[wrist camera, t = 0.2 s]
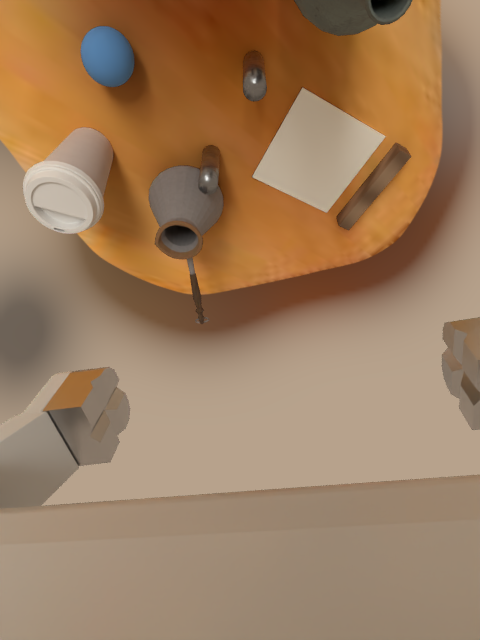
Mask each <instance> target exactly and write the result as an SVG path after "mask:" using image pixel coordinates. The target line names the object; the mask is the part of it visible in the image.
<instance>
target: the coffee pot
mask: <svg viewBox="0 0 480 640" xmlns="http://www.w3.org/2000/svg"><path fill="white" fill-rule="evenodd" d="M199 174H200V169H198V168H196V167H192V166H175V167H172V168H168V169H166V170H165V171H163V172H161V173H160V174H159V175H158V176H157V177H156V178H155V179H154V180H153V182H152V184H151V187H150V189H149V202H150V207H151V209H152V212H153V214H154V216H155V218H156V220H157V222H158V224H159V226H160V228H159V230H158V232H157V234H156V238H155V245H156V246H157V247H158V248H159V249H160V250H161V251H162V252H163V253H165V254H166V255H168V256H170V257H172V258H175V259H187V262H188V266H189V271H190V279H191V286H192V293H193V299H194V301H195V304H196V307H197V309H196V312H197V313H198V315H199V316H198V319H196V320H199V321H200V322H197V321H196V322H197V323H201V324H203V323H204V322H207V321H209V318H206V317H204V316H203V315H202V312H203V308H201V294H200V290H199V286H198V282H197V278H196V274H195V270H194V264H193V258H192V257H194V256H195V255H197V254H198V253H199V252H200V250H201V248H202V245H203V238H202V235H203V234H204V233H206V232H207V231H208V230H209V229H210V228H211V227H212V226H213V225H214V224H215V223H216V222H217V221H218V219H219V217H220V216H221V213H222V210H223V196H222V193H221V190H220V187H219V186H218V188H217V190H216V192H215V193H213V194H210V195H207V194H204V193H202V192H201V191H200V190H199V188H198V181H199ZM204 318H206V319H208V320H207V321H204Z"/></svg>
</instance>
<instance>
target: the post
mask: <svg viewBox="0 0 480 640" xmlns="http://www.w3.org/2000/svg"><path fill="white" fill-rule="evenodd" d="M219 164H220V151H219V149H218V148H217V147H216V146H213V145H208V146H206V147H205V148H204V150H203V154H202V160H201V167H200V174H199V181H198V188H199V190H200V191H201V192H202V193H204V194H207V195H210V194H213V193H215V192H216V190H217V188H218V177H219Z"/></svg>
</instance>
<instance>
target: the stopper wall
mask: <svg viewBox="0 0 480 640" xmlns="http://www.w3.org/2000/svg"><path fill="white" fill-rule="evenodd" d="M410 158H411V155H410V154H409V152H408V150H407V149H406V148H405V147H403V146H401V145H400V144H398V143H395V144H394V146H393V147H392V148H391V149H390V151H389V152H388V153H387V154H386V156H385V157H384V158H383V159H382V161H381V162H380V163H379V164H378V166H377V167H376V168H375V169H374V171H373V172H372V173H371V174H370V176H369V177H368V178H367V179H366V181H365V182H364V183H363V184H362V186H361V187H360V188H359V189H358V191H357V192H356V193H355V194H354V196H353V197H352V198H351V199H350V201H349V202H348V203H347V204H346V206H345V207H344V208H343V209H342V211H341V212H340V213H339V214H338V216H337V221H338V224H339V226H340V227H343V228H345V229H347V230H349V229H350V228H351V227H352V226H353V225H354V224H355V222H356V221H357V220H358V219H359V218H360V217H361V215H362V214H363V213H364V212H365V211H366V209H367V208H368V207H369V206H370V205H371V204H372V202H373V201H374V200H375V199H376V198H377V197H378V195H379V194H380V193H381V192H382V191H383V189H384V188H385V187H386V186H387V185H388V184H389V182H390V181H391V180H392V179H393V178H394V177H395V175H396V174H397V173H398V172H399V171H400V169H401V168H402V167H403V166H404V165H405V164H406V162H407V161H408V160H409V159H410Z"/></svg>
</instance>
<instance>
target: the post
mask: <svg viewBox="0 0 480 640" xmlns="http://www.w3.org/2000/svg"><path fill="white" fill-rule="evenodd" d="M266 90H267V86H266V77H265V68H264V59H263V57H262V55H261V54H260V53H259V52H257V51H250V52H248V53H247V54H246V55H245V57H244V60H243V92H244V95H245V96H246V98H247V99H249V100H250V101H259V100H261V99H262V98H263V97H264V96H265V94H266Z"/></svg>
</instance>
